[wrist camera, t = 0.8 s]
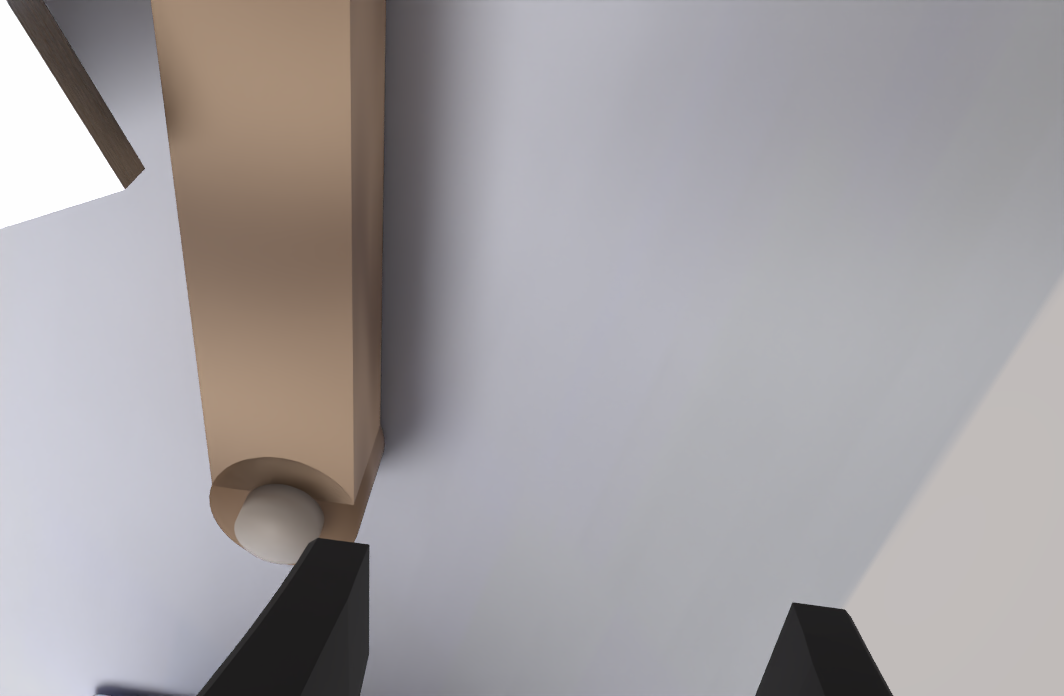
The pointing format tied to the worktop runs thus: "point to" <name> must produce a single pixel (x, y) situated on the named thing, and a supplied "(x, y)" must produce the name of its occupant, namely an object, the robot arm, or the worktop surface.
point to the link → (281, 254)
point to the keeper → (52, 122)
